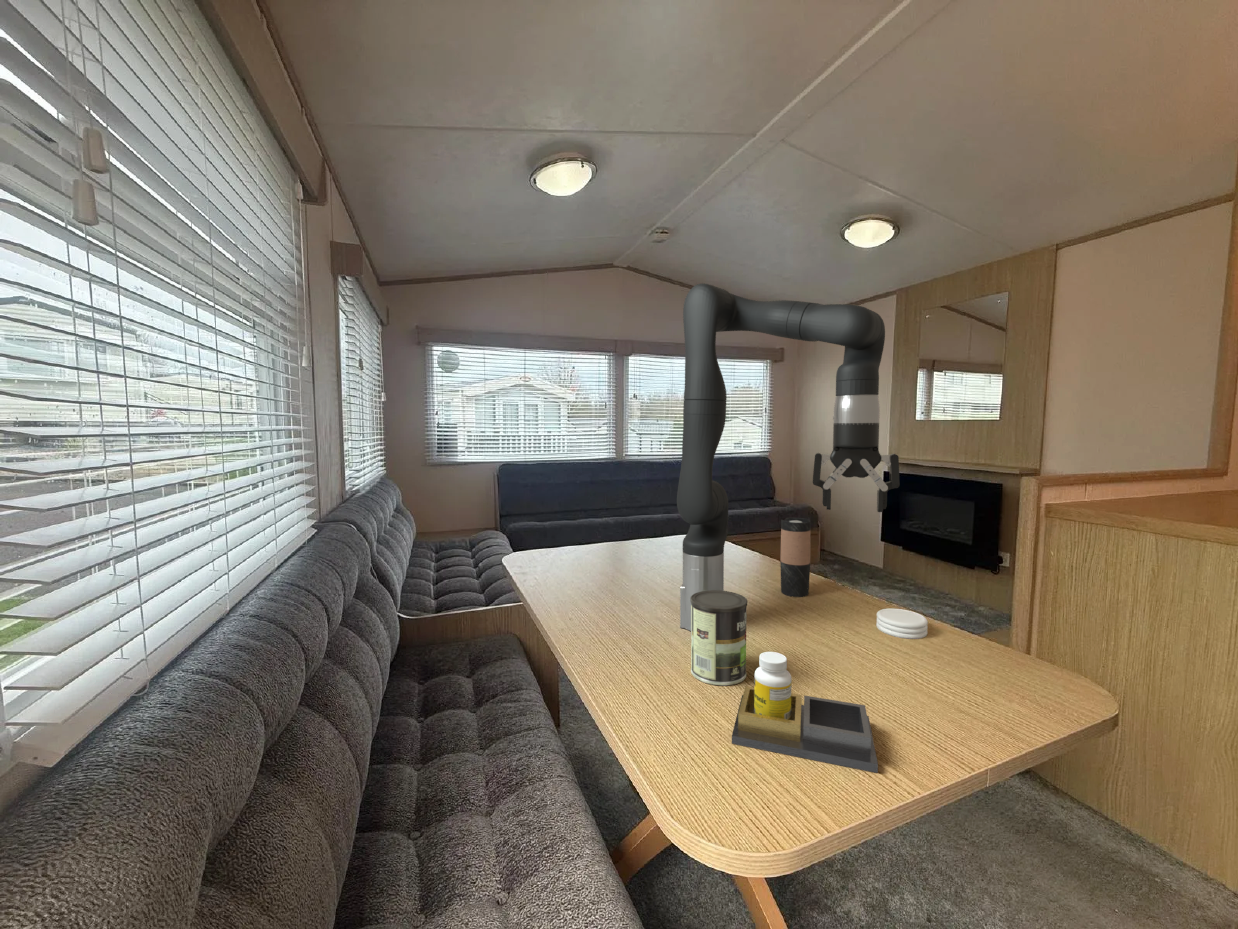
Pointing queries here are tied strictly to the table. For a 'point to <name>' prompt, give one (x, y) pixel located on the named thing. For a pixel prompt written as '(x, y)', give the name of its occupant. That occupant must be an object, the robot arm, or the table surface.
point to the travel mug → (795, 556)
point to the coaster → (902, 623)
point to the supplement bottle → (772, 686)
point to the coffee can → (718, 637)
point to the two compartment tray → (810, 731)
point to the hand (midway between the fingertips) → (853, 510)
